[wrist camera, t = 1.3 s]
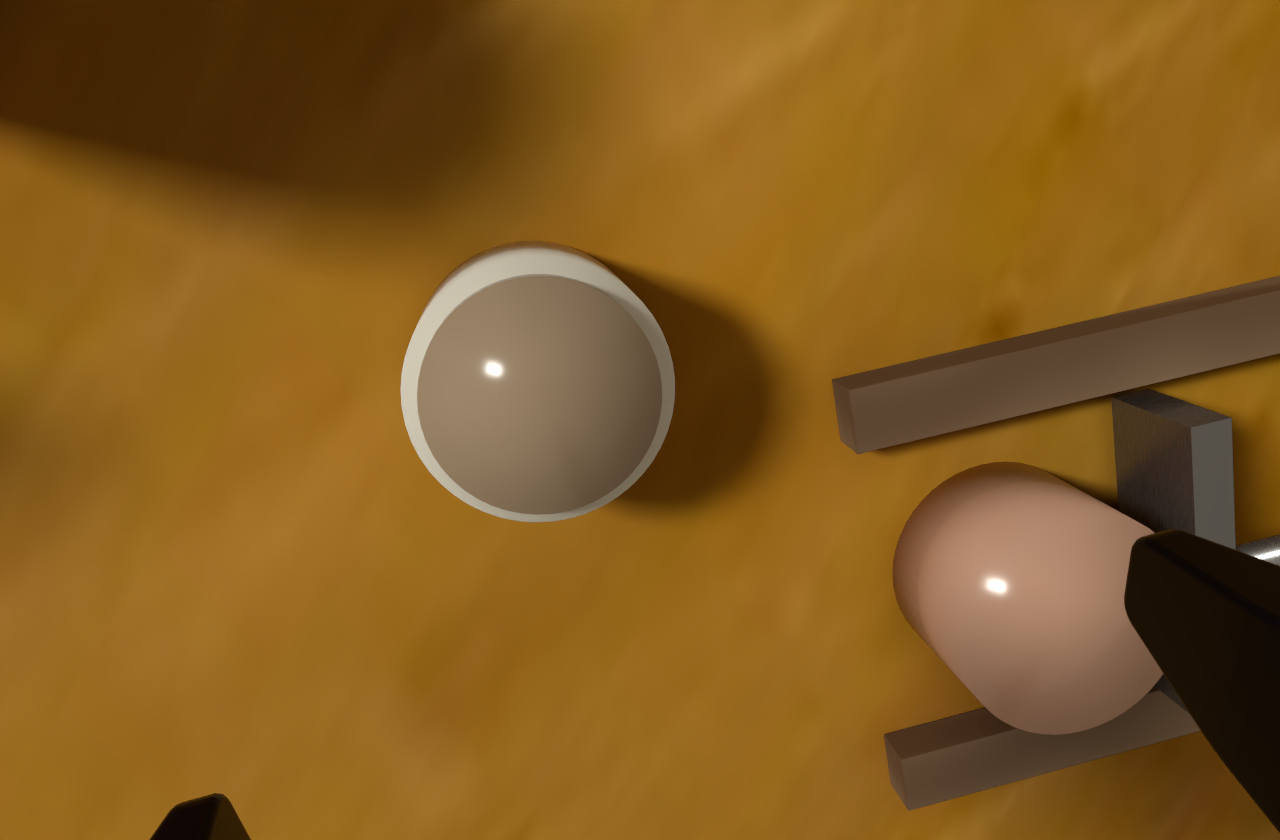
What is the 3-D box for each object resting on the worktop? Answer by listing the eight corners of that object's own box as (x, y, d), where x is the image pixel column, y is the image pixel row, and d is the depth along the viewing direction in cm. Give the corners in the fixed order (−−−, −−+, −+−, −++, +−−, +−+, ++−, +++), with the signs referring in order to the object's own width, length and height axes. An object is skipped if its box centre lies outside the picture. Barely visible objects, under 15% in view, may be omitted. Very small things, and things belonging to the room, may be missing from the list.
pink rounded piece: (1094, 626, 28) (1192, 701, 24) (906, 676, 27) (974, 760, 23) (1078, 439, 26) (1179, 486, 22) (879, 489, 26) (947, 545, 22)
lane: (1552, 604, 30) (1633, 638, 28) (890, 783, 28) (924, 834, 26) (1578, 206, 26) (1673, 210, 24) (832, 379, 25) (864, 400, 23)
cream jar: (669, 442, 25) (702, 495, 21) (447, 494, 24) (438, 559, 20) (624, 217, 23) (650, 231, 19) (386, 269, 23) (364, 292, 19)
